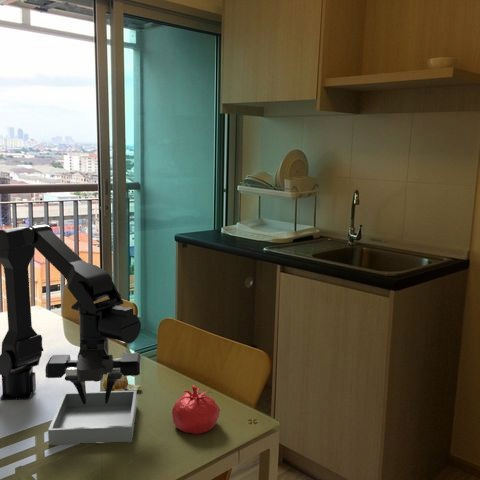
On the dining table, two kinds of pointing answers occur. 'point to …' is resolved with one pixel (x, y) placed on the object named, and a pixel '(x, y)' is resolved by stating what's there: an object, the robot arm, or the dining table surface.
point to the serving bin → (94, 418)
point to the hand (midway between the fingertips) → (95, 403)
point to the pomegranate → (195, 412)
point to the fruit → (121, 385)
